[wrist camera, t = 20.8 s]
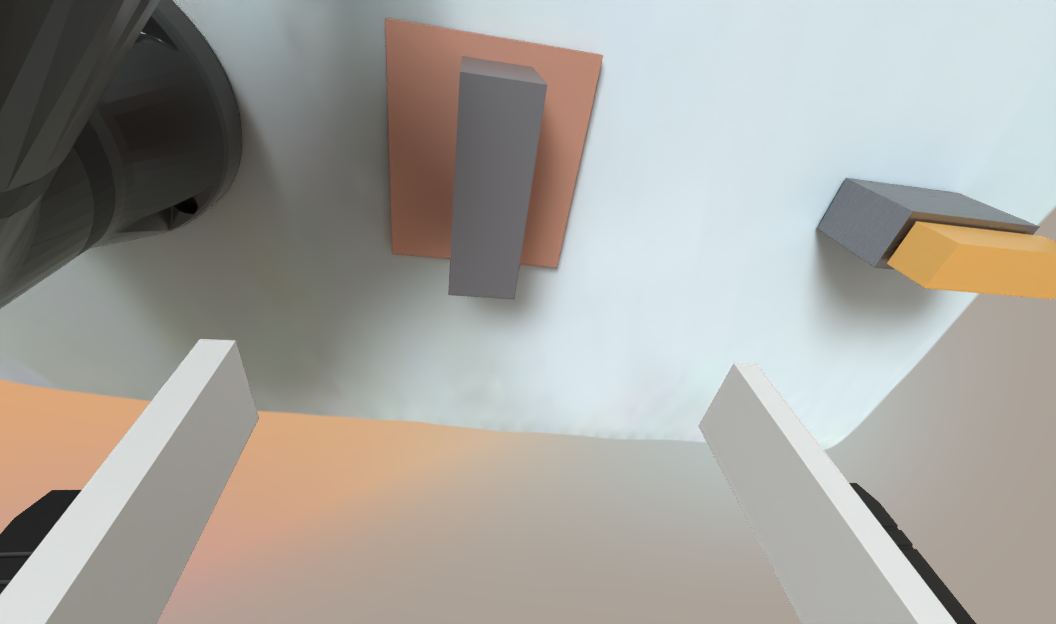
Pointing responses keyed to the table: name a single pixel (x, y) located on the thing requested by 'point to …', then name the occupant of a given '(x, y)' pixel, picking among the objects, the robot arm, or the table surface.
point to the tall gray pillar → (493, 174)
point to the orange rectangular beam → (977, 260)
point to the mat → (431, 130)
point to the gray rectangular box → (903, 217)
